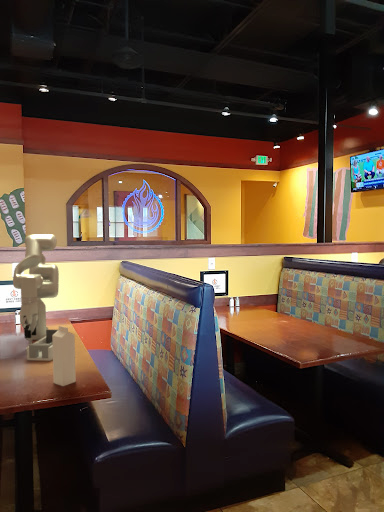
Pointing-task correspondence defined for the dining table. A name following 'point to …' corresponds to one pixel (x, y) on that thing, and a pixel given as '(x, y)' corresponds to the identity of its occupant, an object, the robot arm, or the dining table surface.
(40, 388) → the dining table surface
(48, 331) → the pusher
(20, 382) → the dining table surface
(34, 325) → the chalice
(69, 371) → the milk
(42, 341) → the grey bracket
